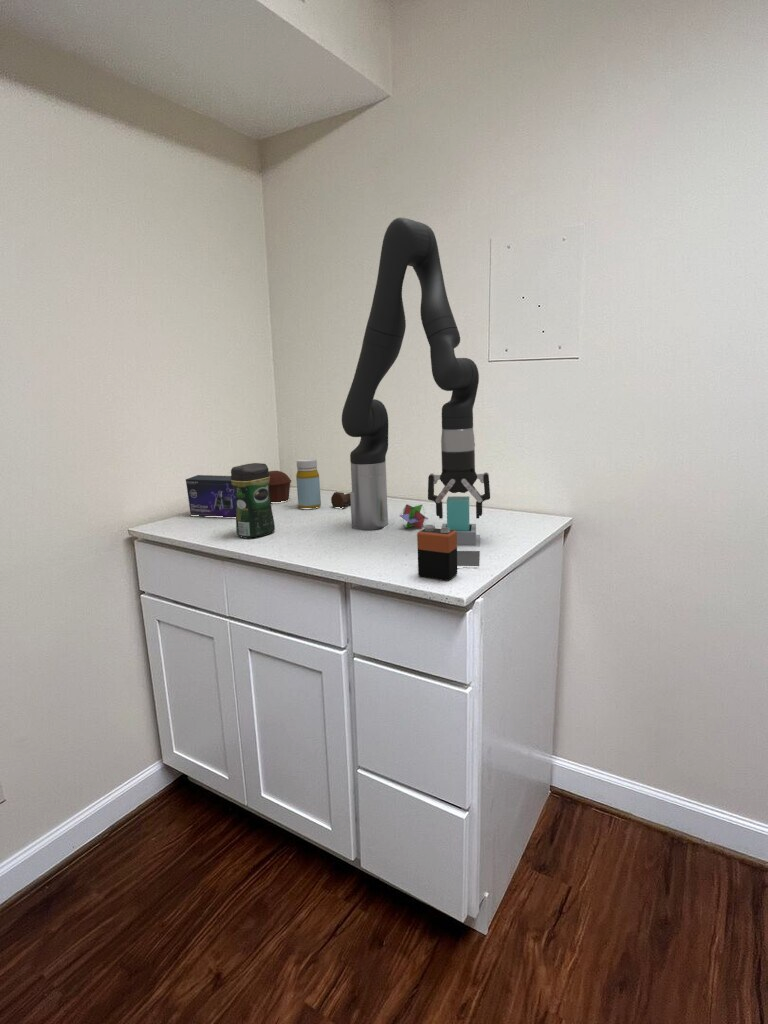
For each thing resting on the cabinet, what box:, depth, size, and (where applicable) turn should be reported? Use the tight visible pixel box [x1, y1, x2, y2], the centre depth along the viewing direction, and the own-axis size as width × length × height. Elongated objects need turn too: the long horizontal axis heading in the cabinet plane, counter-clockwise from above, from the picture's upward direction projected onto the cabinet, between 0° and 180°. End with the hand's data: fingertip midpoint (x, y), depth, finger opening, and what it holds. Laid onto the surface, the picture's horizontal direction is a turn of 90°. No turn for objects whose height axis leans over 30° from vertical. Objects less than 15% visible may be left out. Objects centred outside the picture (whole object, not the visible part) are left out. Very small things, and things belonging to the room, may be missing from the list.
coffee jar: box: [230, 462, 276, 538], centre depth 149 cm, size 10×8×19 cm
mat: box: [457, 550, 481, 569], centre depth 123 cm, size 10×10×1 cm
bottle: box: [295, 458, 322, 509], centre depth 180 cm, size 7×7×15 cm
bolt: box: [330, 491, 351, 508], centre depth 183 cm, size 6×5×15 cm
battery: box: [416, 524, 458, 581], centre depth 113 cm, size 4×7×10 cm, turn 59°
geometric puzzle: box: [399, 503, 429, 530], centre depth 149 cm, size 7×7×8 cm
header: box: [440, 523, 481, 548], centre depth 136 cm, size 10×10×4 cm
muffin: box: [268, 470, 292, 502], centre depth 192 cm, size 12×11×10 cm
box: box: [185, 474, 236, 517], centre depth 174 cm, size 17×7×12 cm, turn 72°
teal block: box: [446, 495, 471, 531], centre depth 135 cm, size 5×5×10 cm
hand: (459, 517), depth 135 cm, fingers open, 8 cm apart
